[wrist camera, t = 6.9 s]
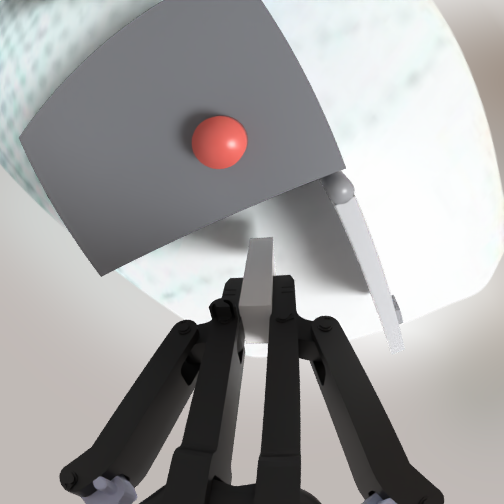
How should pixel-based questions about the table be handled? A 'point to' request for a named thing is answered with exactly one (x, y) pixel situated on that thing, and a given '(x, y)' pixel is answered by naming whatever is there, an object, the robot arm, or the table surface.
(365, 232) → the door
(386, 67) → the table surface
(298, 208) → the table surface
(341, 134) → the table surface
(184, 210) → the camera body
